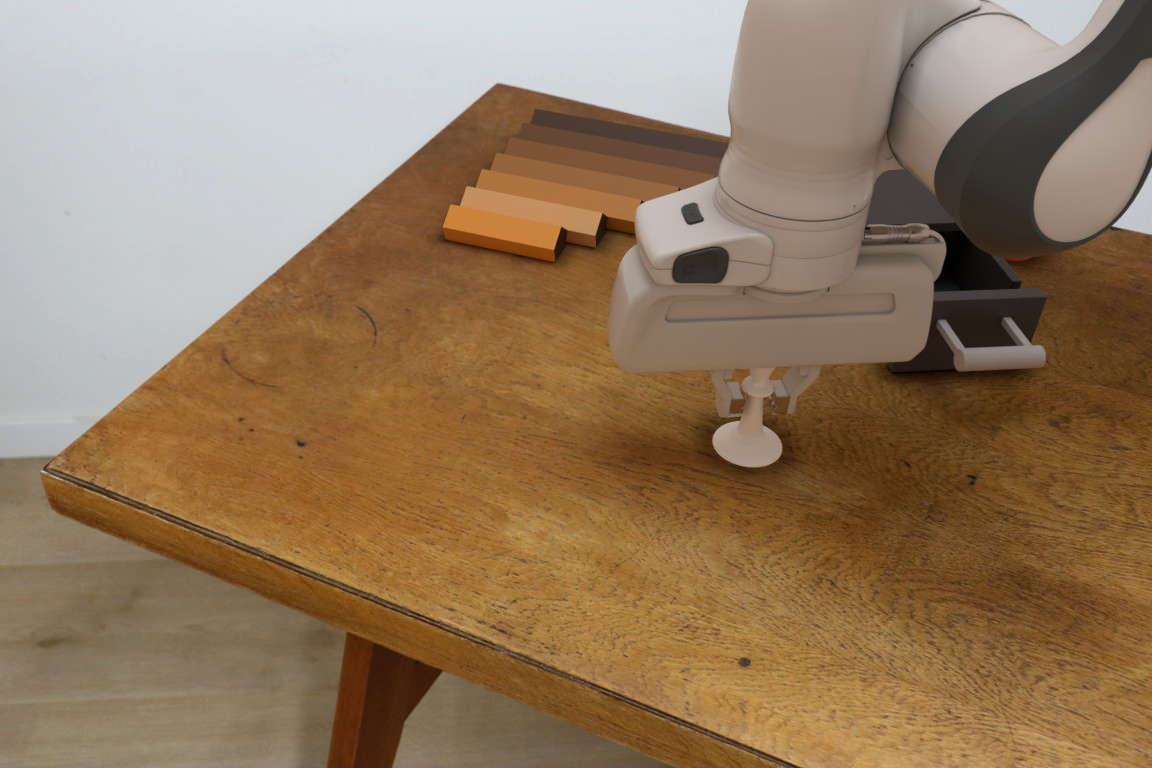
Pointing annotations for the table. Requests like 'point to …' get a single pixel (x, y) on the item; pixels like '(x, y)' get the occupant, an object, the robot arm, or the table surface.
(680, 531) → the table surface
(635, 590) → the table surface
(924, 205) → the small storage cabinet
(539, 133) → the pan flute
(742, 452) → the chess piece
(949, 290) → the drawer
